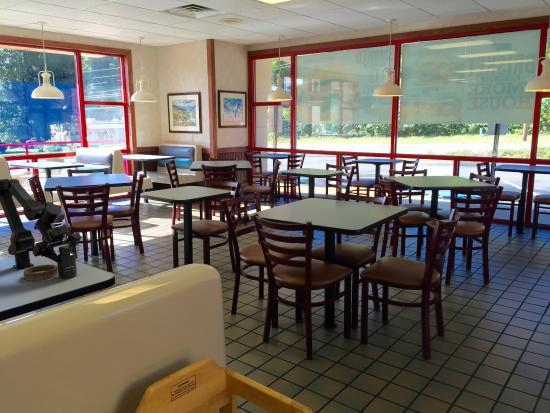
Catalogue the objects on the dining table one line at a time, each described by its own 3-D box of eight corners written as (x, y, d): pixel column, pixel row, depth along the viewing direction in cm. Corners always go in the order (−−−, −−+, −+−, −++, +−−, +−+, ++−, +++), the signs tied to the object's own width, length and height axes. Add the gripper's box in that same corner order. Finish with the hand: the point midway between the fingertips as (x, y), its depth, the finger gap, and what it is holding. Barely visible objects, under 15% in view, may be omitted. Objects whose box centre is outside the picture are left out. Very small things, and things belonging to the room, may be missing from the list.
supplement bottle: (70, 279, 181) (67, 249, 179) (54, 278, 183) (51, 249, 181) (81, 273, 188) (78, 244, 186) (66, 273, 189) (62, 244, 187)
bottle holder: (19, 276, 187) (18, 270, 186) (49, 269, 196) (49, 262, 195) (32, 282, 179) (31, 275, 179) (63, 274, 188) (62, 267, 188)
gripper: (32, 222, 176) (54, 254, 172) (76, 213, 191) (96, 242, 187) (23, 240, 181) (43, 272, 177) (66, 230, 197) (86, 259, 193)
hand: (68, 260), depth 184 cm, fingers closed on supplement bottle, 7 cm apart
